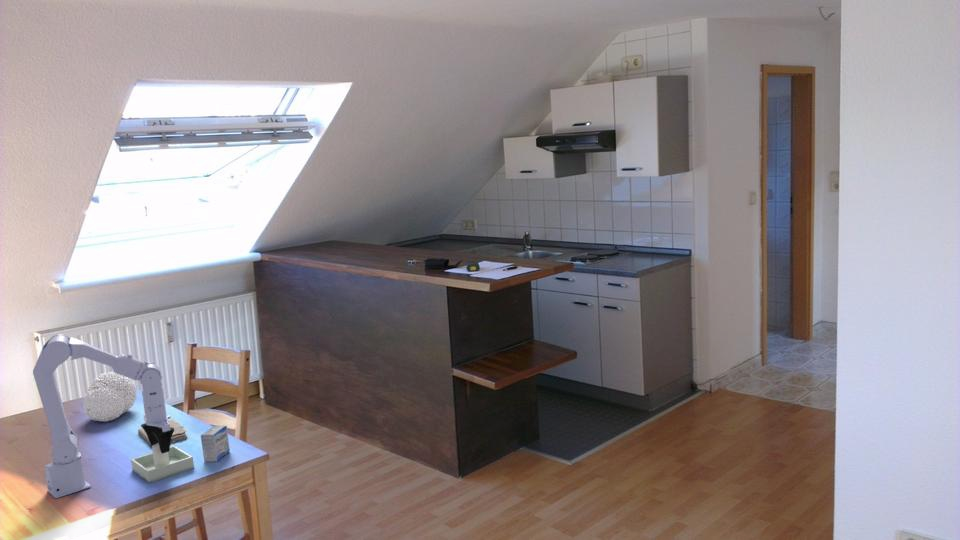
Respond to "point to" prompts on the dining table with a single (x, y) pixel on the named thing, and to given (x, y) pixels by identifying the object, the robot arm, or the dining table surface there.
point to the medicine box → (215, 443)
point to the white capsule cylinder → (159, 456)
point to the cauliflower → (109, 397)
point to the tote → (148, 471)
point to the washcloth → (176, 436)
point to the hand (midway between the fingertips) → (160, 448)
